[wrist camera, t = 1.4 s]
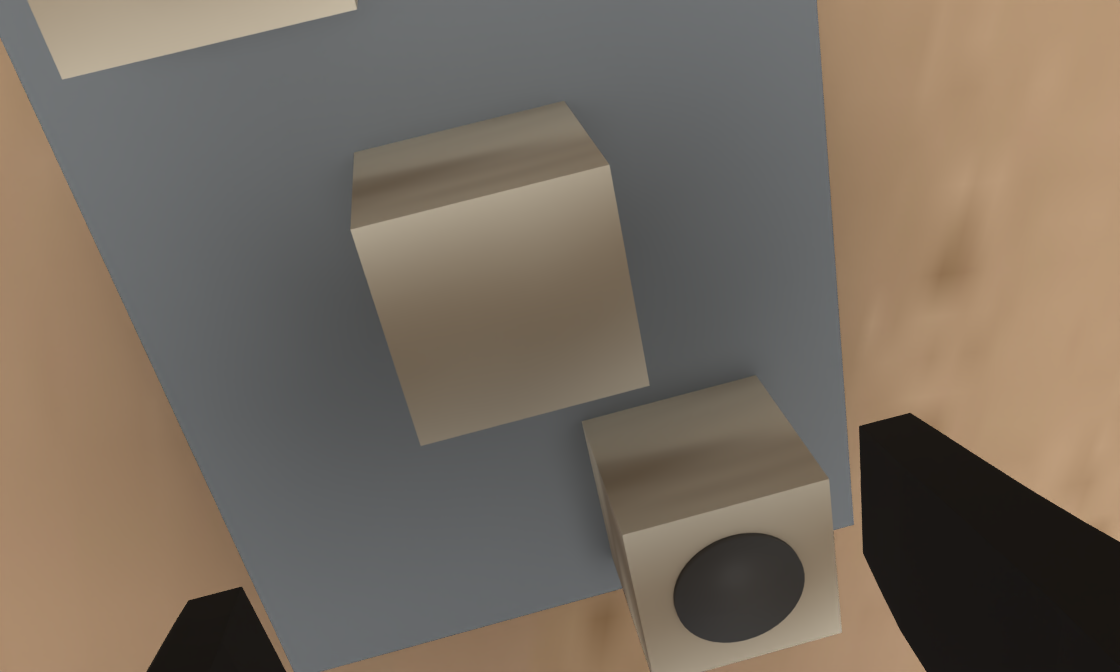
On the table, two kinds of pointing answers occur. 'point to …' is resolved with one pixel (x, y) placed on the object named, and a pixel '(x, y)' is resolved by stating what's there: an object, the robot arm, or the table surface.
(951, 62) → the table surface
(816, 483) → the dotted block
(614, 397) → the tapping mat
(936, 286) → the table surface
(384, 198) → the plain block
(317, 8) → the dotted block
